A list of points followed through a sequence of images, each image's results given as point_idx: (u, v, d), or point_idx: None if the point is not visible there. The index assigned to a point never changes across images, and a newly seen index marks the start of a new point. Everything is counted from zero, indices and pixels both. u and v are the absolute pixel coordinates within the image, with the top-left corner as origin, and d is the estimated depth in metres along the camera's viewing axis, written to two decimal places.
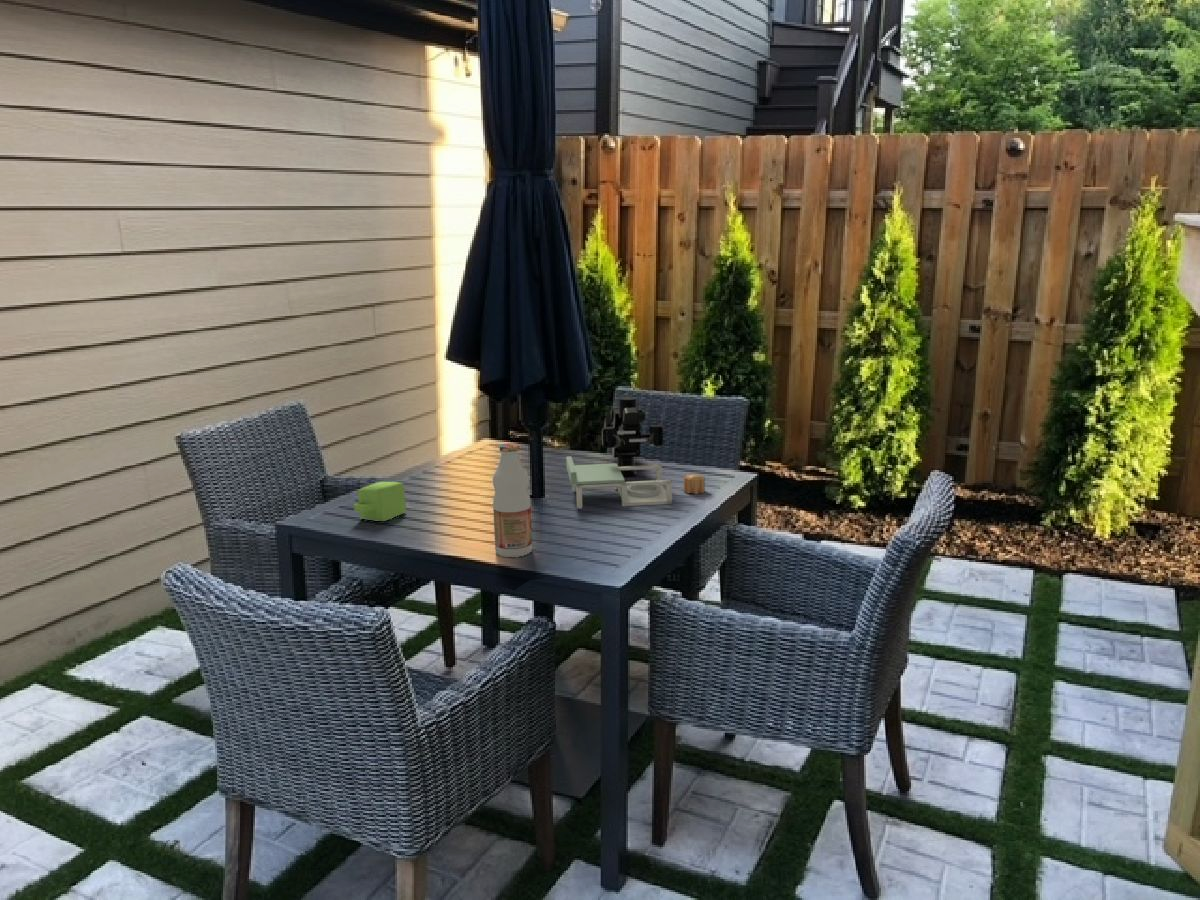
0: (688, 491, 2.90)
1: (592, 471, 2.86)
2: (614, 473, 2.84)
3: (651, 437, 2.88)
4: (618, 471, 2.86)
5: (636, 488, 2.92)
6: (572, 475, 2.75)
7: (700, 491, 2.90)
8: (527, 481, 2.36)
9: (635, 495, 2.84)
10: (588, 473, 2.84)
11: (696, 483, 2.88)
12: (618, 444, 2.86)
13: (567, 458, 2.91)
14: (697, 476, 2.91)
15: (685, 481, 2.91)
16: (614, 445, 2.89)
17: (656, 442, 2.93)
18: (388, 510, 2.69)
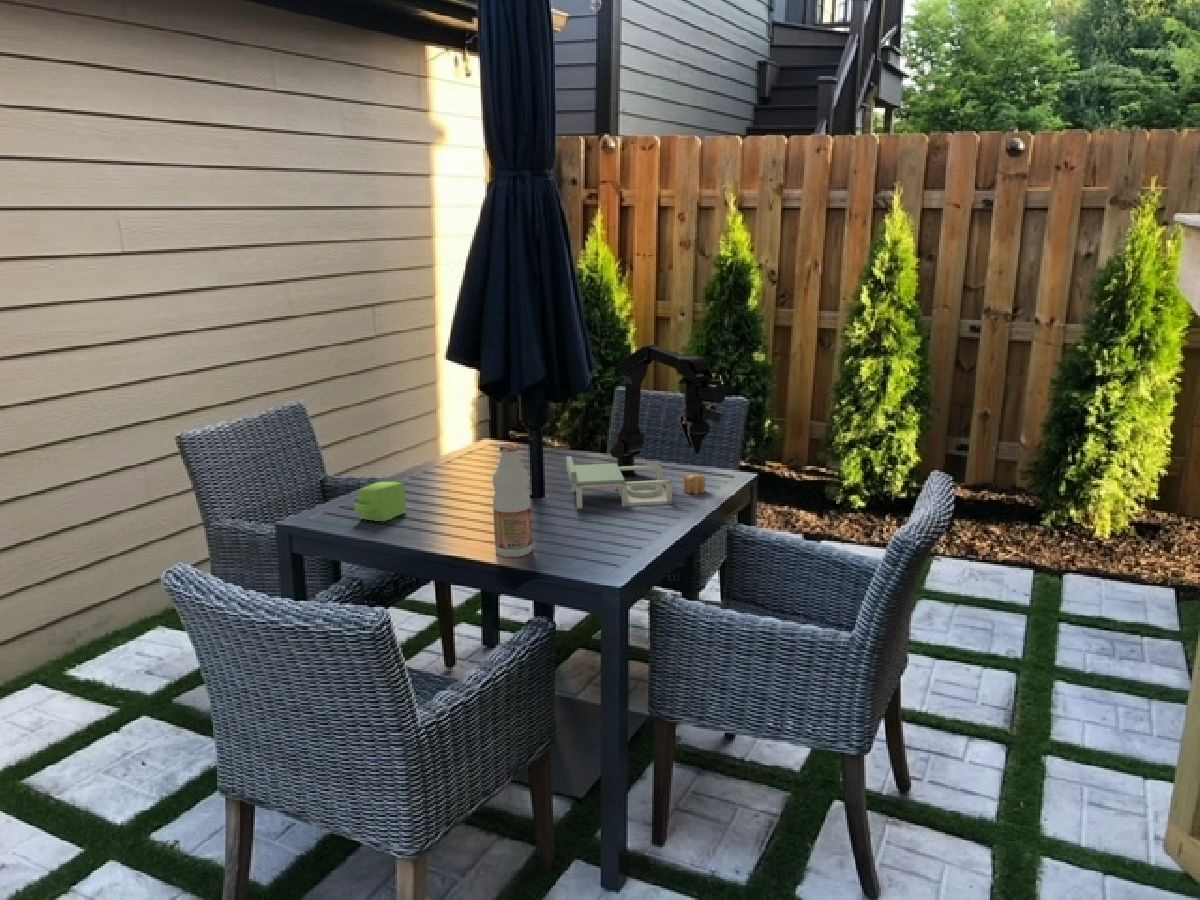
0: (688, 491, 2.90)
1: (592, 471, 2.86)
2: (614, 473, 2.84)
3: None
4: (618, 471, 2.86)
5: (636, 488, 2.92)
6: (572, 475, 2.75)
7: (700, 491, 2.90)
8: (527, 481, 2.36)
9: (635, 495, 2.84)
10: (588, 473, 2.84)
11: (696, 483, 2.88)
12: (695, 449, 2.84)
13: (567, 458, 2.91)
14: (697, 476, 2.91)
15: (685, 481, 2.91)
16: (692, 440, 2.82)
17: None
18: (388, 510, 2.69)
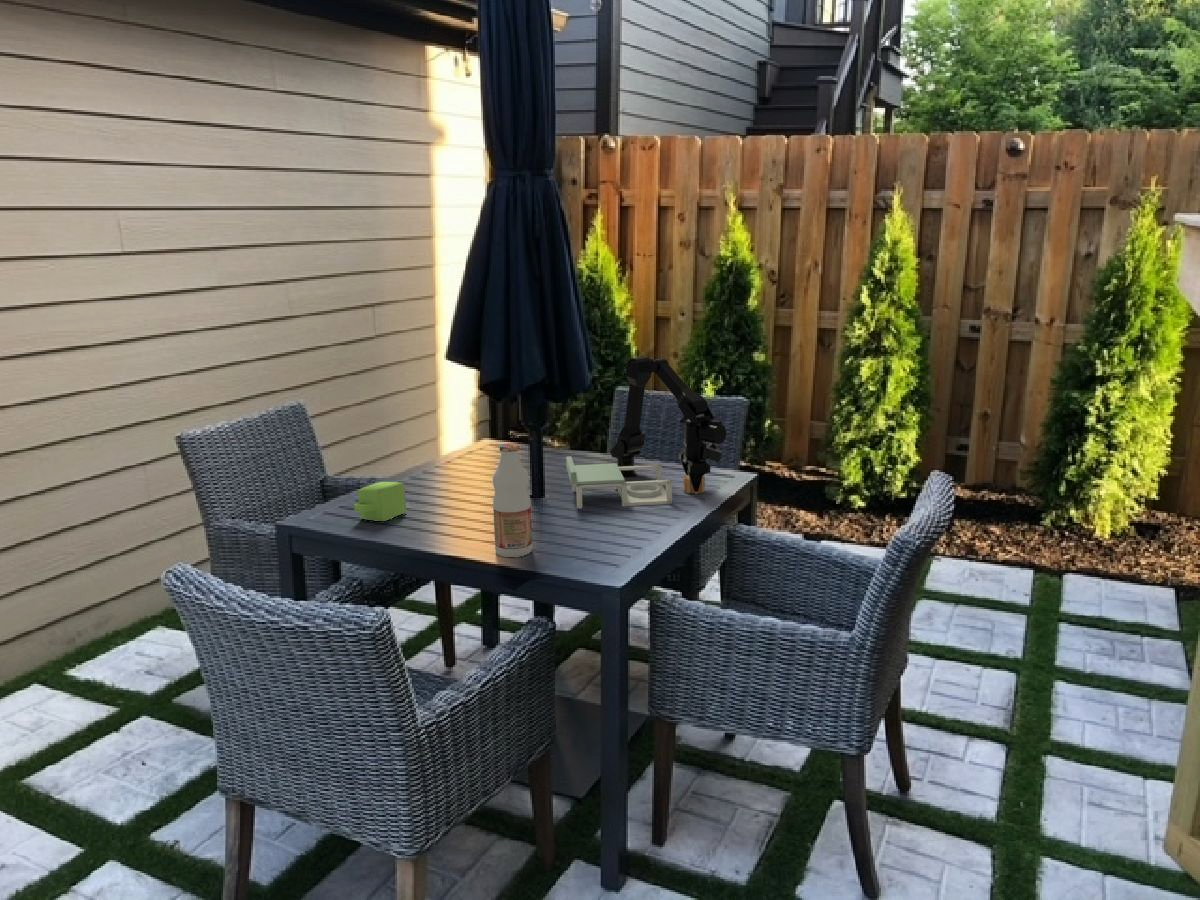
0: (688, 491, 2.90)
1: (592, 471, 2.86)
2: (614, 473, 2.84)
3: None
4: (618, 471, 2.86)
5: (636, 488, 2.92)
6: (572, 475, 2.75)
7: (700, 491, 2.90)
8: (527, 481, 2.36)
9: (635, 495, 2.84)
10: (588, 473, 2.84)
11: None
12: (694, 487, 2.88)
13: (567, 458, 2.91)
14: None
15: (685, 481, 2.91)
16: (692, 479, 2.86)
17: None
18: (388, 510, 2.69)
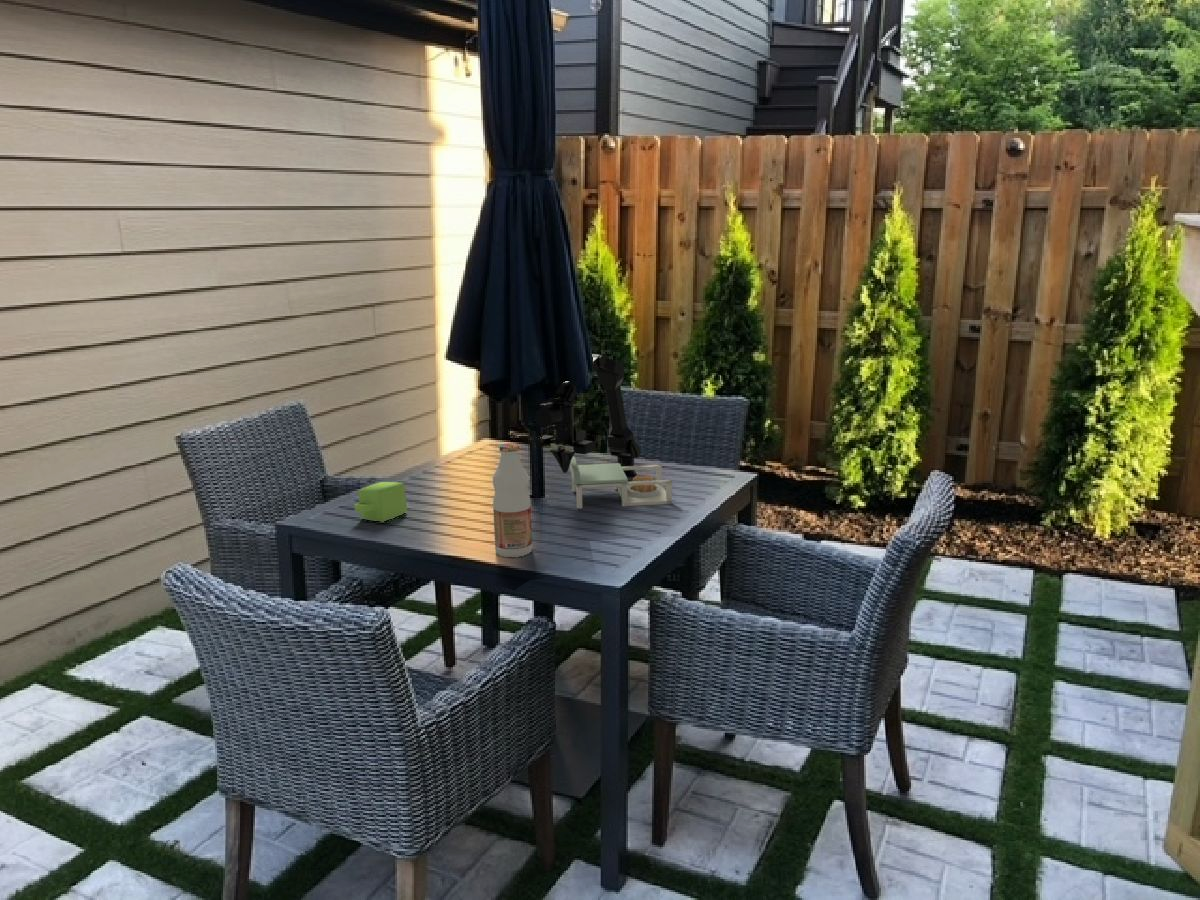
0: None
1: (595, 471, 2.87)
2: (617, 473, 2.84)
3: None
4: (621, 471, 2.86)
5: None
6: (575, 475, 2.75)
7: None
8: (527, 481, 2.36)
9: (635, 495, 2.84)
10: (592, 473, 2.84)
11: None
12: (566, 468, 2.83)
13: None
14: (646, 477, 2.87)
15: None
16: (566, 460, 2.81)
17: None
18: (388, 510, 2.68)
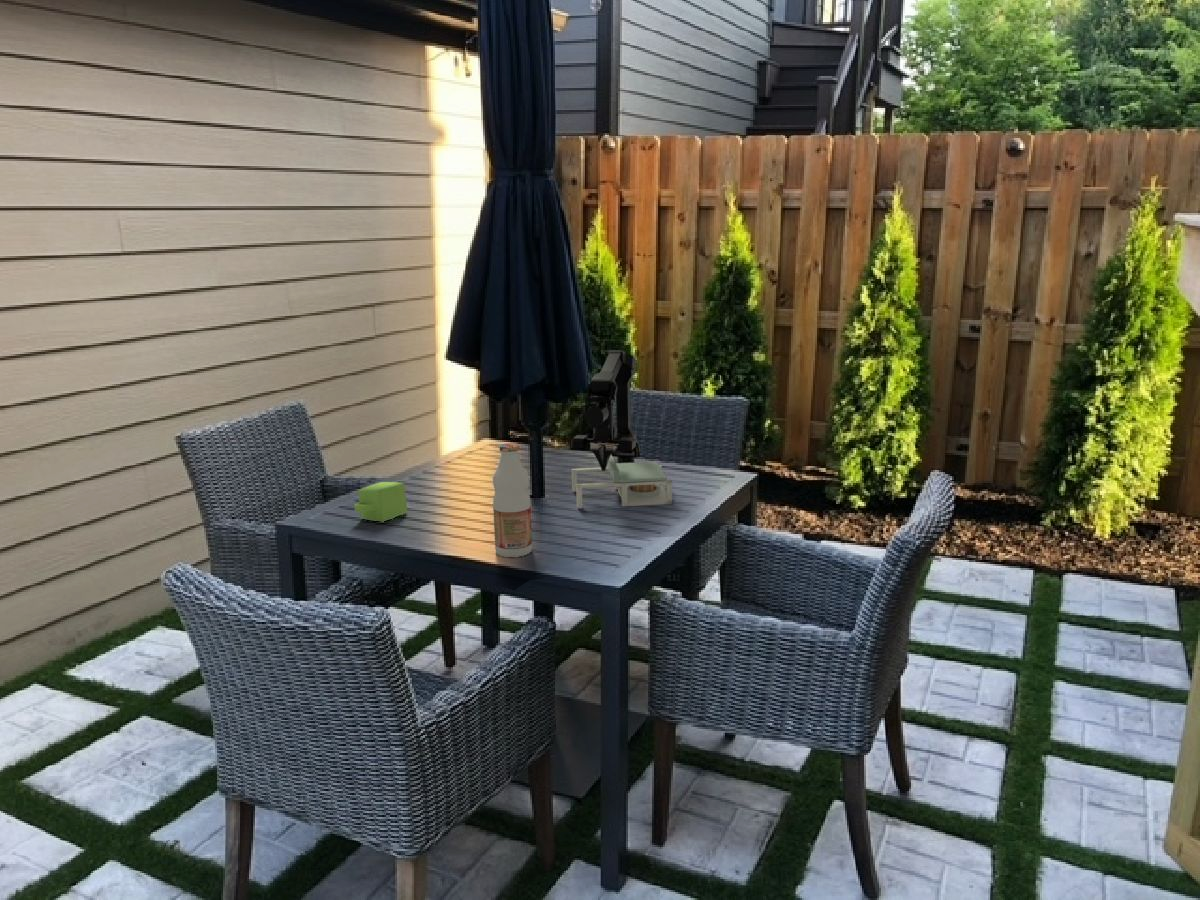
0: None
1: (633, 469, 2.88)
2: (655, 471, 2.85)
3: None
4: (659, 469, 2.87)
5: None
6: (615, 473, 2.76)
7: None
8: (527, 481, 2.36)
9: (635, 495, 2.84)
10: (630, 471, 2.85)
11: None
12: (605, 466, 2.84)
13: None
14: None
15: None
16: (607, 458, 2.83)
17: None
18: (388, 510, 2.68)
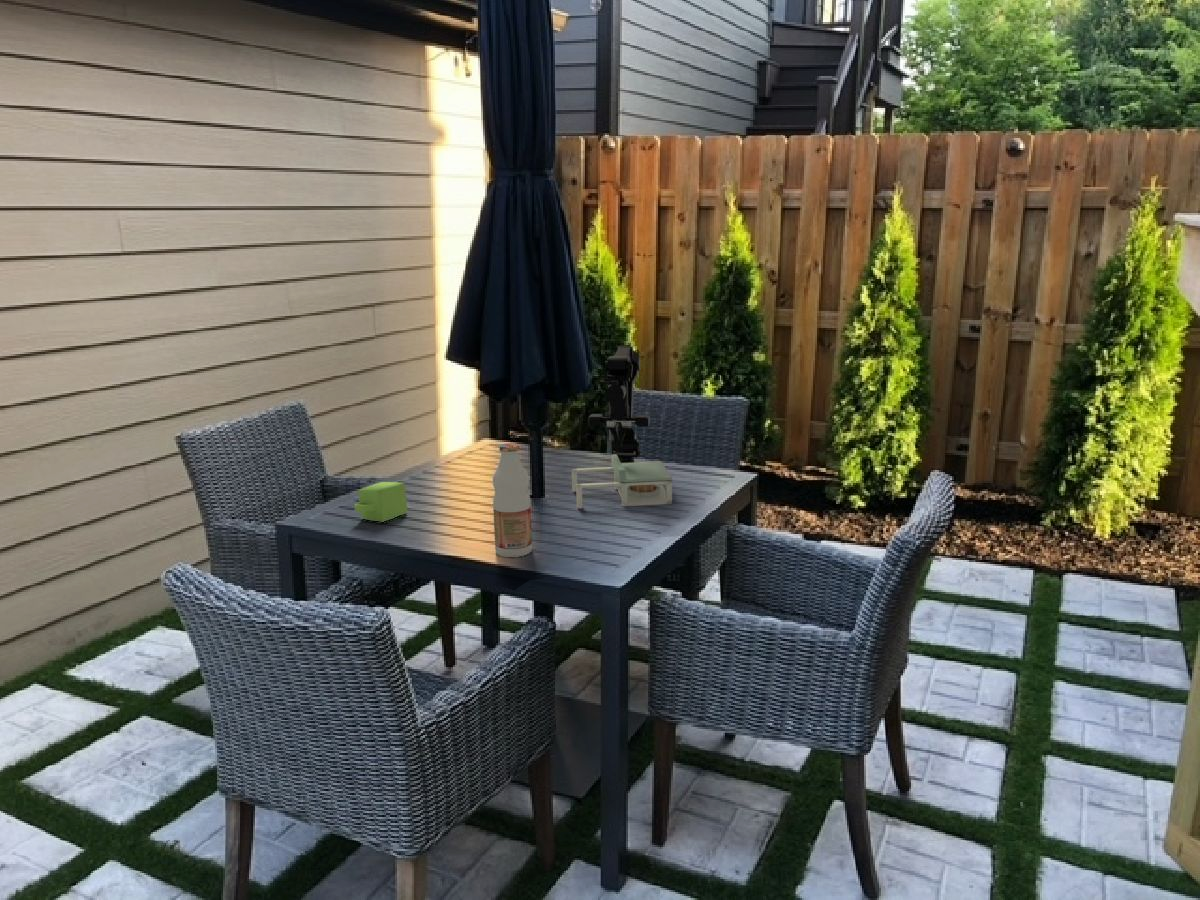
0: None
1: (638, 469, 2.88)
2: (660, 471, 2.85)
3: None
4: (664, 469, 2.87)
5: None
6: (620, 473, 2.76)
7: None
8: (527, 481, 2.36)
9: (635, 495, 2.84)
10: (635, 471, 2.86)
11: None
12: (621, 443, 2.94)
13: (613, 456, 2.92)
14: None
15: None
16: (623, 435, 2.92)
17: None
18: (388, 510, 2.68)
